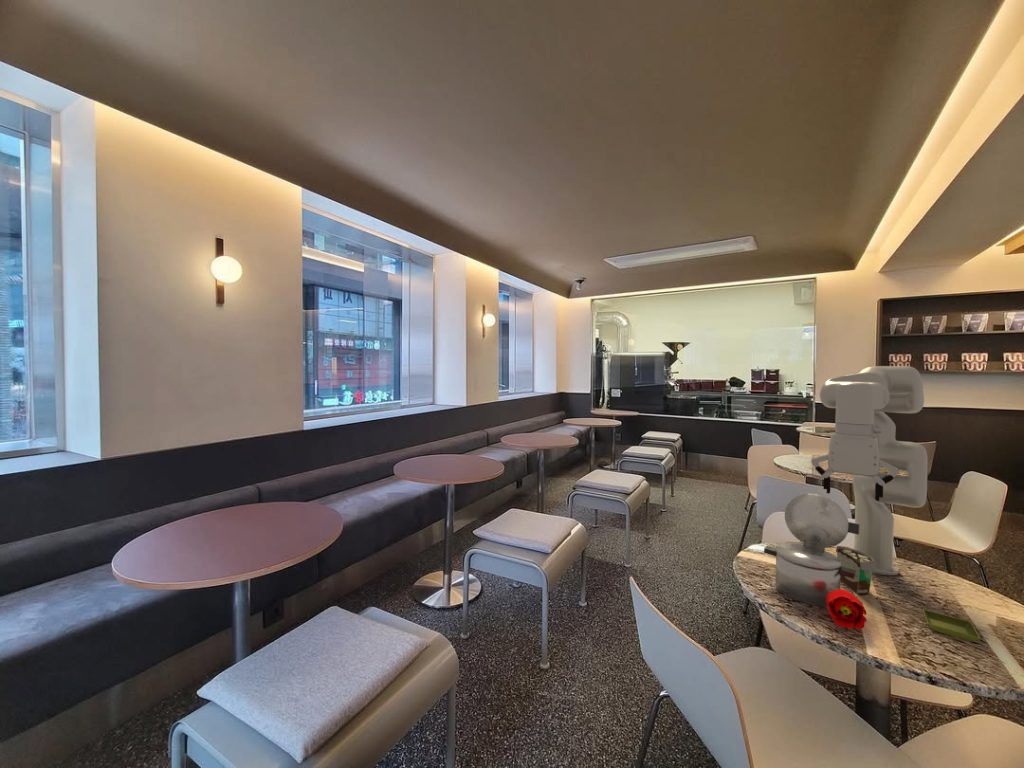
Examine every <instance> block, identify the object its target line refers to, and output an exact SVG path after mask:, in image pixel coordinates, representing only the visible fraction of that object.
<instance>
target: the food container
mask: <svg viewBox="0 0 1024 768" xmlns="http://www.w3.org/2000/svg"><path fill="white" fill-rule="evenodd" d="M835 553H836V557H838V558H839V559H840V560H841V561H842V567H846V568H849V569H853V570H856V574H855V577H854V579H852V578H849V577H846V576H842V575H841V578H840V583H841V584H843V585H844V586H845V587H847V588H848V589H849V590H850V591H851V592H853V593H854V594H855V595H857V596H867V595H869V594H870V590H871V583H872V576H873V573H872V570H874V569H875V568H876V565H875V561H874V560H873V558H872V557H871V556H870V555H868V554H866V553H864V552H861V551H858V550H855V549H854V548H850V547H846V546H839V545H836V548H835Z"/></svg>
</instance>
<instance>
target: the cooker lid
mask: <svg viewBox="0 0 1024 768" xmlns="http://www.w3.org/2000/svg"><path fill="white" fill-rule="evenodd" d="M784 520H785V524H786V526H787V529H788V530H789V532H790V533H791V534H792V535H793V536H794V537H795V538H796V539H797V540H798V541H800V542H802V543H803V544H802V545H806V546H810V547H814V548H818V549H821V550H824V551H826V549H829V548H833V547H835V546H836V547H837V546H839V544H841V543H842V542H843V541H844V540H845V539H846V537H847V536H848V534H849V533H850V534H853V535H855V534H858V535H859V529H860V524H856V523H855V522H850V521H849V520H848V516H847V515H846V512H845V511H844V510H843V508H842V507H841V506H840V505H839V504H838V503H837V502H836V501H834V500H833V499H831V498H829V497H826V496H824V495H820V494H816V493H815V494H814V493H805V494H801V495H798V496H795V497H794V498H793V499H791V500H790V501H789V502H788V503H787V505H786V508H785V509H784Z"/></svg>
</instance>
